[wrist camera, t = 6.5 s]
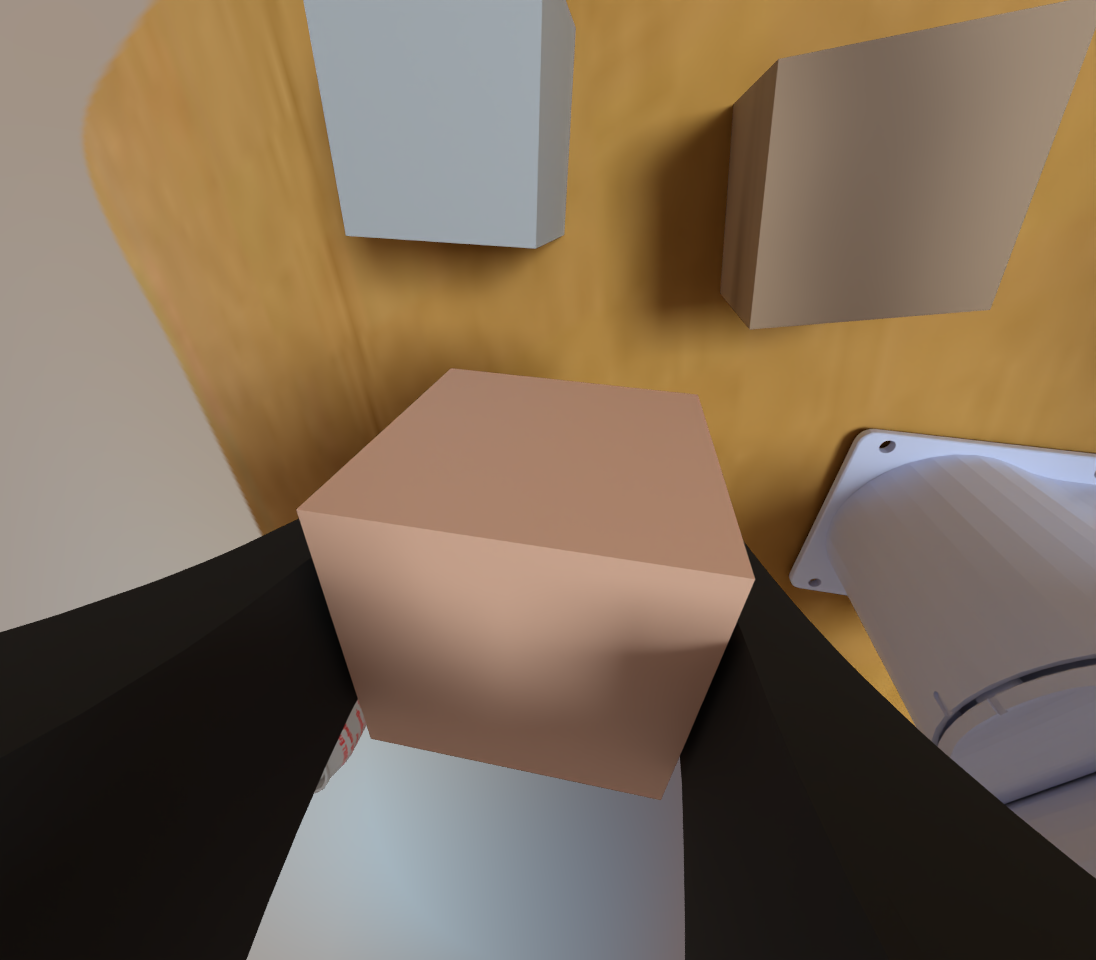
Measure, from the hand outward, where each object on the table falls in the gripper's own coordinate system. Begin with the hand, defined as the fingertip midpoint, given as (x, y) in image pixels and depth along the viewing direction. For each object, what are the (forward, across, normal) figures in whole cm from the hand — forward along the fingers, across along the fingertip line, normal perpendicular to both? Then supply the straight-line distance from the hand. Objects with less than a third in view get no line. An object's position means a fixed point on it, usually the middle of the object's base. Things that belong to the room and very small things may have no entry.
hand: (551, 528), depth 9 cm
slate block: (+10, +4, -7) cm, 13 cm away
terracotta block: (+2, 0, 0) cm, 2 cm away
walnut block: (+10, -6, -6) cm, 13 cm away
